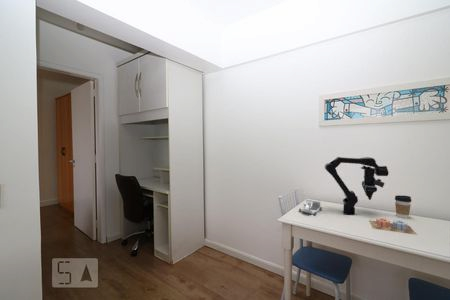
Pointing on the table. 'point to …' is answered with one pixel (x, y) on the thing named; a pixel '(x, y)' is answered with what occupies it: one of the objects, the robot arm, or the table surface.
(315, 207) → the phone holder
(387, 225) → the gear
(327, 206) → the table surface
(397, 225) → the gear
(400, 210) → the coffee cup
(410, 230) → the gear board
